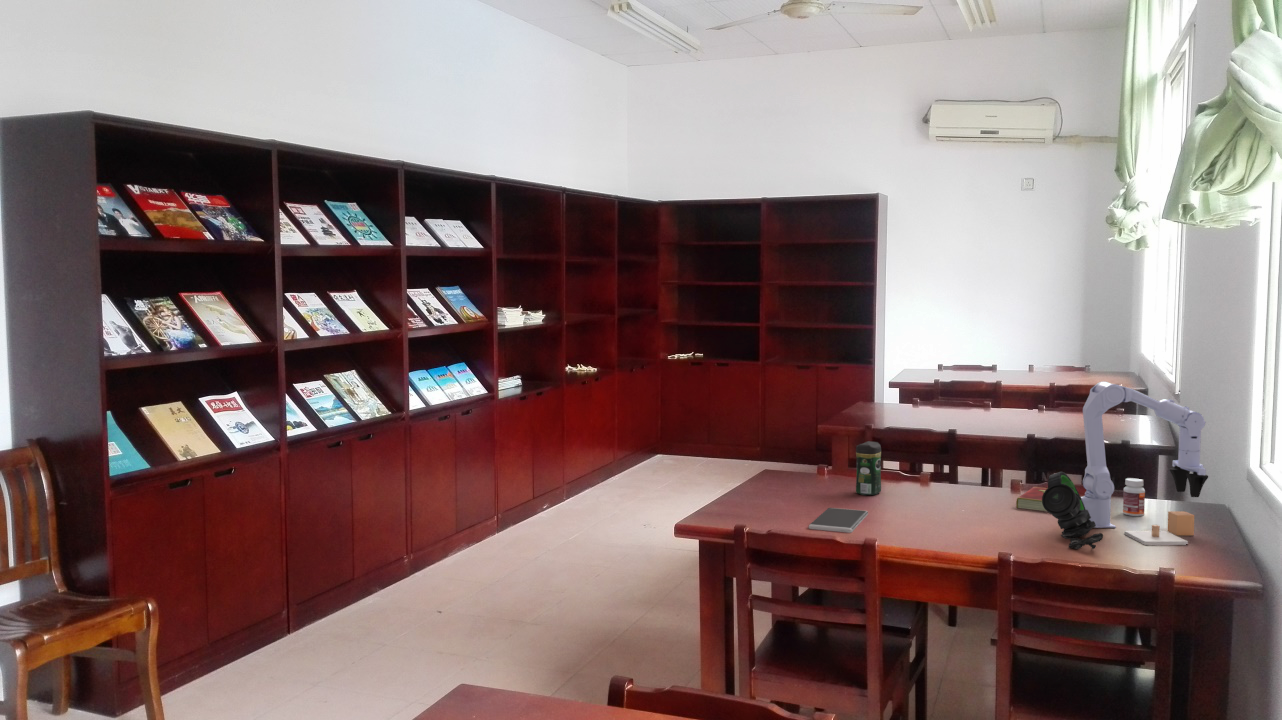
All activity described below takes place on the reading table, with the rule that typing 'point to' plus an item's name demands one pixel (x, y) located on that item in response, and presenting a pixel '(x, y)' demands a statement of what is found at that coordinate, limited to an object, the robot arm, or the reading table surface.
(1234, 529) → the reading table surface
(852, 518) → the smartphone
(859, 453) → the coffee jar
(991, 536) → the reading table surface
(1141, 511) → the pill bottle
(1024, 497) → the hardcover book
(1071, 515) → the headset
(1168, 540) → the post plate
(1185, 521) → the tan wooden cube
